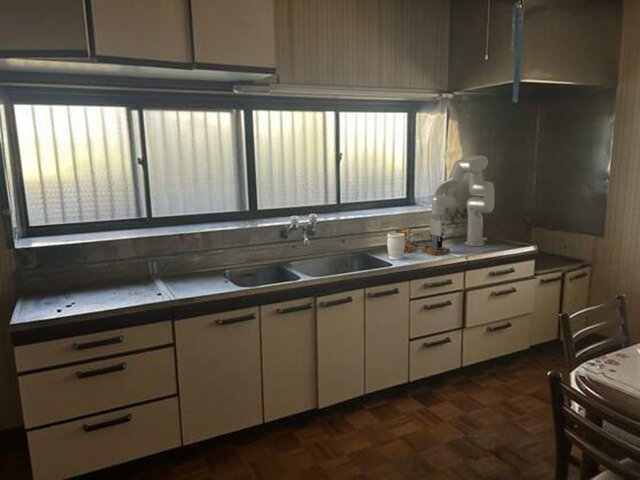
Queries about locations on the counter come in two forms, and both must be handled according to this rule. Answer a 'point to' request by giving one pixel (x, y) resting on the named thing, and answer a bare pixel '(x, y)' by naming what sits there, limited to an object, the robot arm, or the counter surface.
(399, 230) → the candy box
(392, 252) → the jar
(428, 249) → the socket block
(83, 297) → the counter surface
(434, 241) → the grey rectangular block
